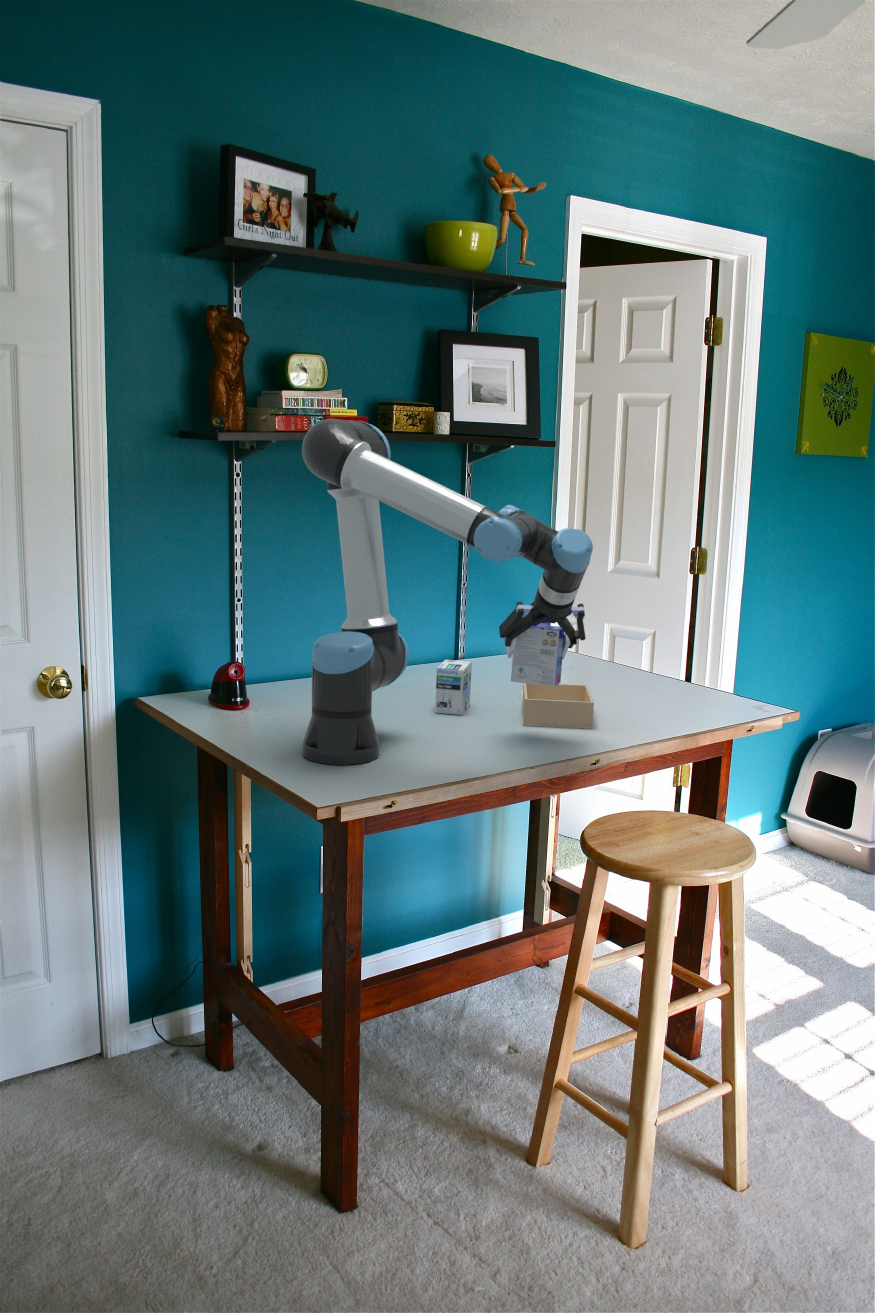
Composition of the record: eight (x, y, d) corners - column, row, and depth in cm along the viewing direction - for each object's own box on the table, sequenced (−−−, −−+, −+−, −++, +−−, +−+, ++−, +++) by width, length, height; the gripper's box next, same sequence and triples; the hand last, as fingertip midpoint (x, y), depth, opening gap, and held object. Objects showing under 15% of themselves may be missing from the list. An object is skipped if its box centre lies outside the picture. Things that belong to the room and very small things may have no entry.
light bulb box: (462, 716, 227) (464, 670, 225) (434, 713, 229) (435, 667, 226) (470, 705, 238) (472, 661, 235) (443, 702, 239) (444, 658, 237)
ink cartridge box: (561, 682, 211) (567, 615, 208) (556, 688, 206) (561, 619, 203) (516, 677, 214) (521, 611, 211) (510, 682, 209) (514, 614, 206)
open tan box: (523, 725, 221) (524, 699, 220) (520, 685, 259) (521, 663, 258) (592, 729, 220) (593, 702, 219) (579, 688, 258) (580, 666, 257)
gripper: (499, 605, 190) (482, 666, 208) (617, 609, 193) (590, 669, 211) (497, 574, 194) (480, 637, 212) (612, 578, 197) (585, 640, 215)
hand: (535, 653), depth 212 cm, fingers closed on ink cartridge box, 11 cm apart
